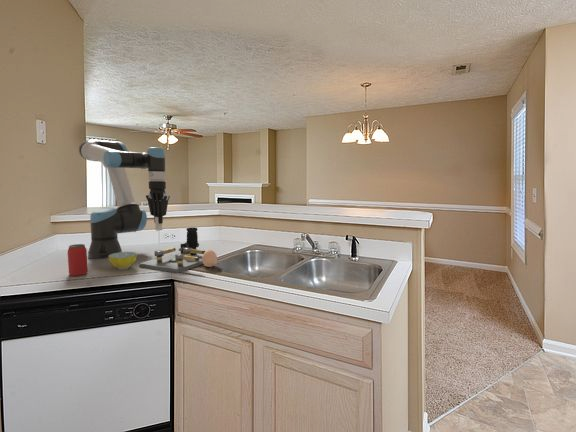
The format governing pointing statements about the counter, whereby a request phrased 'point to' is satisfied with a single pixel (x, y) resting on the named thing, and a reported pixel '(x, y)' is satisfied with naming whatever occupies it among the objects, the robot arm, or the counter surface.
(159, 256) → the knob near
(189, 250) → the knob
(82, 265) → the beer can
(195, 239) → the scope
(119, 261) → the bowl
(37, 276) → the counter surface
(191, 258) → the knob
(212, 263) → the egg
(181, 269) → the base
